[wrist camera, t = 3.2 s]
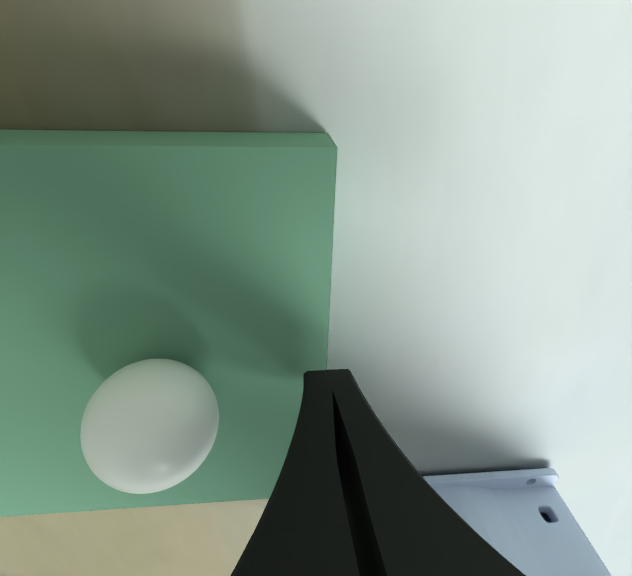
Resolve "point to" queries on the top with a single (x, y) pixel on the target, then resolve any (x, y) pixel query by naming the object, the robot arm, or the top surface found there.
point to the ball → (149, 426)
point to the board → (158, 296)
